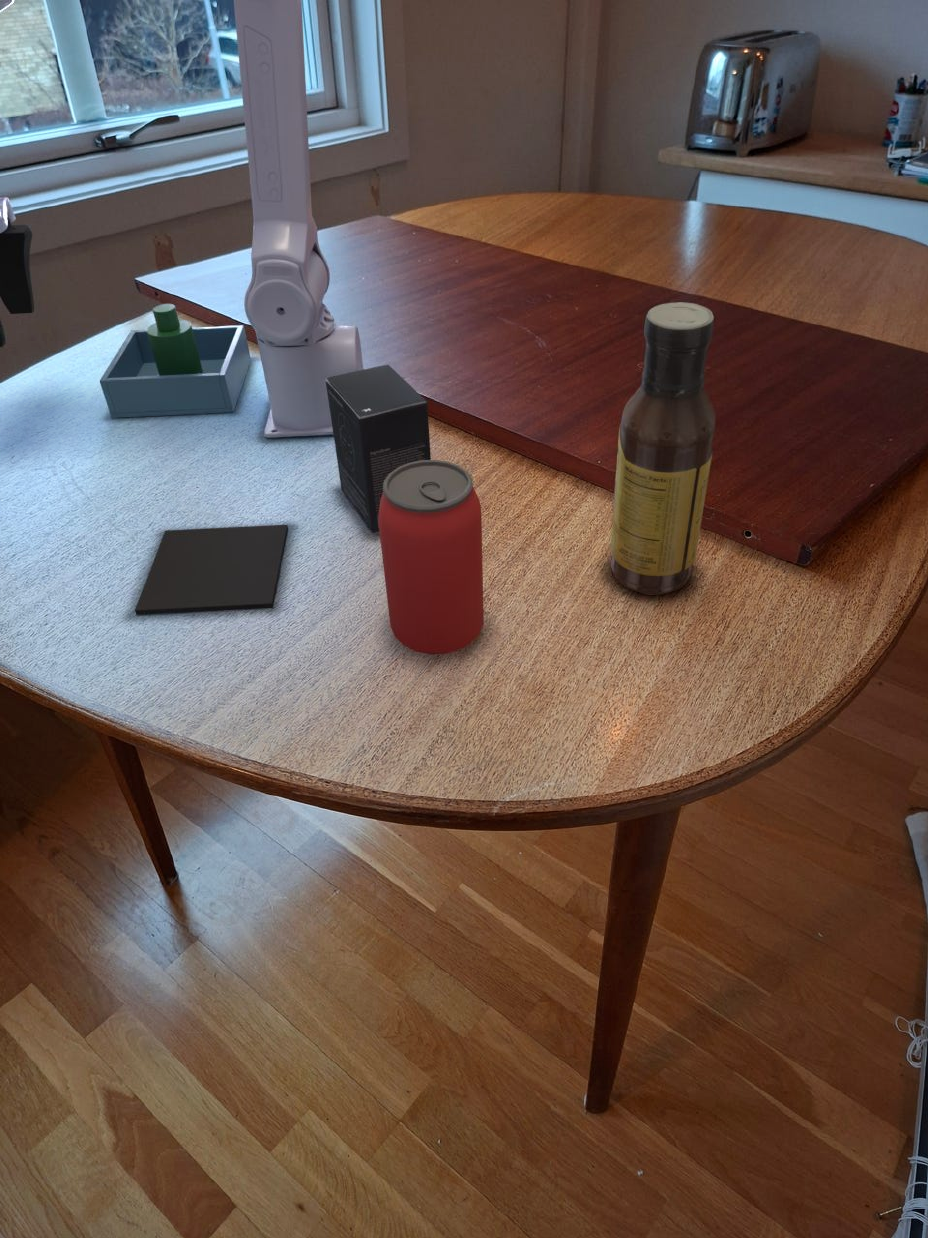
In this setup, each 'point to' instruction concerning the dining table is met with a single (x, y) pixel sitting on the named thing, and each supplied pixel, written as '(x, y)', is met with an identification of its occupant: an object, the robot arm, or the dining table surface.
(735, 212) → the dining table surface
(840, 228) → the dining table surface
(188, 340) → the bottle
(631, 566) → the sauce bottle
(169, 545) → the mat
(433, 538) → the beer can
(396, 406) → the box
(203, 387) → the case
